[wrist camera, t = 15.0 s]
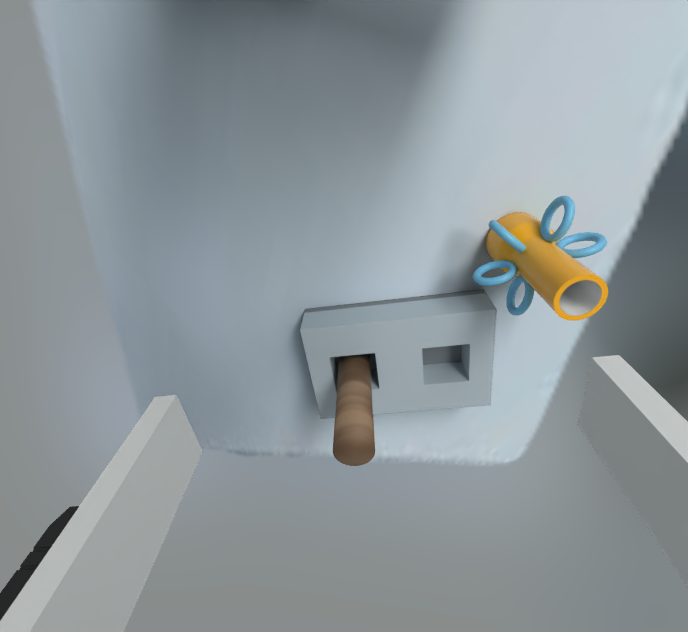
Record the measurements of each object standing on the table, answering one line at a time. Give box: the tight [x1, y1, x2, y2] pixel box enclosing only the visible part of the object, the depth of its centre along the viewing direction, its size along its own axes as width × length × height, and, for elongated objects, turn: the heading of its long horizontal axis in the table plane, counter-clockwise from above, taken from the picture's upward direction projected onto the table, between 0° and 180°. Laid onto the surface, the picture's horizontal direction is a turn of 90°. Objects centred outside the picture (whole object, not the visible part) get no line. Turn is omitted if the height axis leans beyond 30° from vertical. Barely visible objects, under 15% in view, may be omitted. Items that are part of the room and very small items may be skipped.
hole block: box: [300, 290, 496, 419], centre depth 48 cm, size 14×22×5 cm, turn 98°
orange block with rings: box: [473, 196, 608, 320], centre depth 36 cm, size 12×10×15 cm
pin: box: [333, 354, 375, 466], centre depth 43 cm, size 4×4×16 cm
